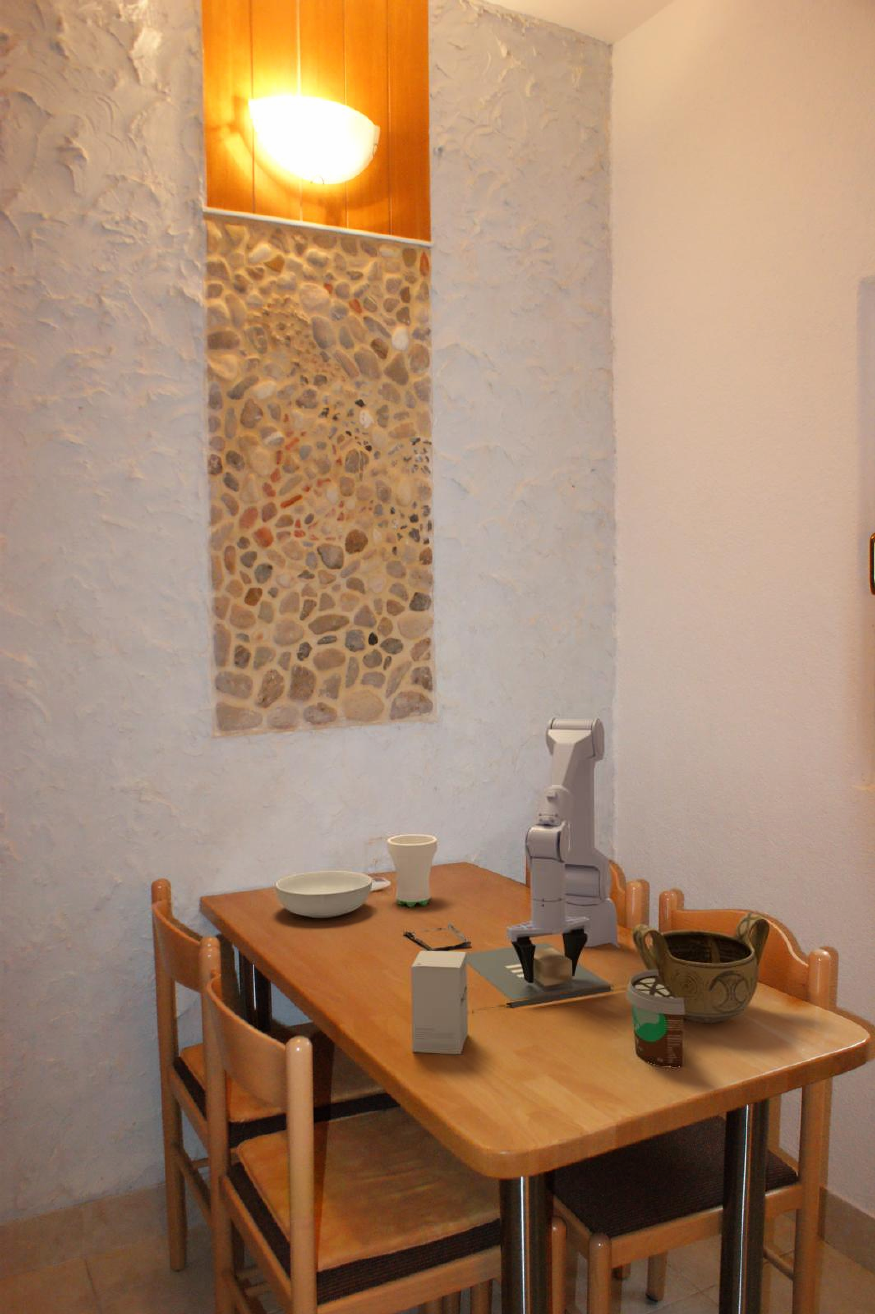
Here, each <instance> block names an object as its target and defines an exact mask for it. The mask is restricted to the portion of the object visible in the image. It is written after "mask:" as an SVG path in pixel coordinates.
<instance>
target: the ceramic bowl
mask: <svg viewBox="0 0 875 1314" xmlns="http://www.w3.org/2000/svg"><path fill="white" fill-rule="evenodd" d="M770 928H771V926H770V924H769V922H768V921H767V919H765V918H763V917H762V916H760V915H758V914H756V913H754V912H747V913H744V915H742V917H741V918H740V920H739V921H738V923H737V925H736V927H735V930H734V933H733V935H730V934H727V933H722V932H717V931H710V930H705V929H704V930H702V929H679V930H678V929H676V930H669V931H664V932H659V930H657V929H655V928H653V927H650V926H648V925H647V924H643V923H639V924H637V925H636V926H635V927H633V930H632V936H631V937H632V941H633V943H634V946H635V948H636V949H637V953H638V954H639V956H640V958H641V960H642V962H643V964H644V966H645V968H646V971H649V970H658V977H659V979H660V980H661V981H662V982H663V983H664V984H666V985H667V986H669V987H670V989H671V991H672V992H673V994H674V995H675V997H676V998H683V1001H684V1009H685V1015H683V1019H685V1020H688V1021H691V1022H695V1023H698V1024H700V1023H701V1024H715V1023H720V1022H724V1021H727V1020H730V1019H732V1018H734V1017H736V1016H738V1015H739V1014H741V1013H742V1012H743V1011H744V1010H745V1009H746V1008H747V1007H748V1005H749V1004H750V1003H751V1001H752V999H753V997H754V995H755V993H756V990H757V988H758V987H757V986H758V981H759V965H760V961H761V959H762V955H763V953H764V950H765V946H766V943H767V940H768V937H769V934H770ZM648 934H649V935H650V937H651V939H650V940H649V946H648V945H647V942H646V938H647V935H648Z"/></svg>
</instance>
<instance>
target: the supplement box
mask: <svg viewBox="0 0 875 1314" xmlns="http://www.w3.org/2000/svg"><path fill="white" fill-rule="evenodd" d="M466 954H467V952H466V951H451V950H450V951H449V950H439V951H431V950H419V951H418V954H417V956H416V957H415V959H414V961H413V963H412V964H411V967H410V972H411V973H410V980H411V981H410V982H411V987H410V988H411V991H410V992H411V1036H412V1037H411V1041H412V1043H411V1045H412V1046H411V1047H412V1052H413V1053H426V1054H427V1053H428V1054H443V1055H444V1054H447V1055H461V1054H462V1051H463V1048H464V1044H465V1041H466V1039H467V1036H468V1034H469V1030H468V1029H469V1027H468V1026H469V1025H468V1023H469V1021H468V1018H469V1017H468V973H467V971H468V970H467V967H468V966H467V965H468V964H467V960H466Z"/></svg>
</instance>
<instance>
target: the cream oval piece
mask: <svg viewBox="0 0 875 1314" xmlns="http://www.w3.org/2000/svg"><path fill="white" fill-rule="evenodd" d="M372 885H373V879H372V877H371V876H369V875H367V874H365V873H360V872H356V871H355V872H354V871H345V870H320V871H319V870H317V871H316V870H315V871H309V872H302V873H297V874H292V875H289V876H285V877H283V878H281V879H279V880H278V881H276V883H275V891H276V897H277V899H278V901H279V903H280V905H282V906H283V908H284V909H286V910H287V911H289V912H291V913H293V914H296V915H300V916H304V917H308V918H311V919H312V918H313V919H327V918H329V919H330V918H334V917H339V916H341V915H344V914H347V913H350V912H353V911H355V910H357V909H359V908H361V906H362V905H364V904H365V902H366V901H367V899H369V897H370V894H371V891H372V887H373V886H372Z"/></svg>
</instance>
